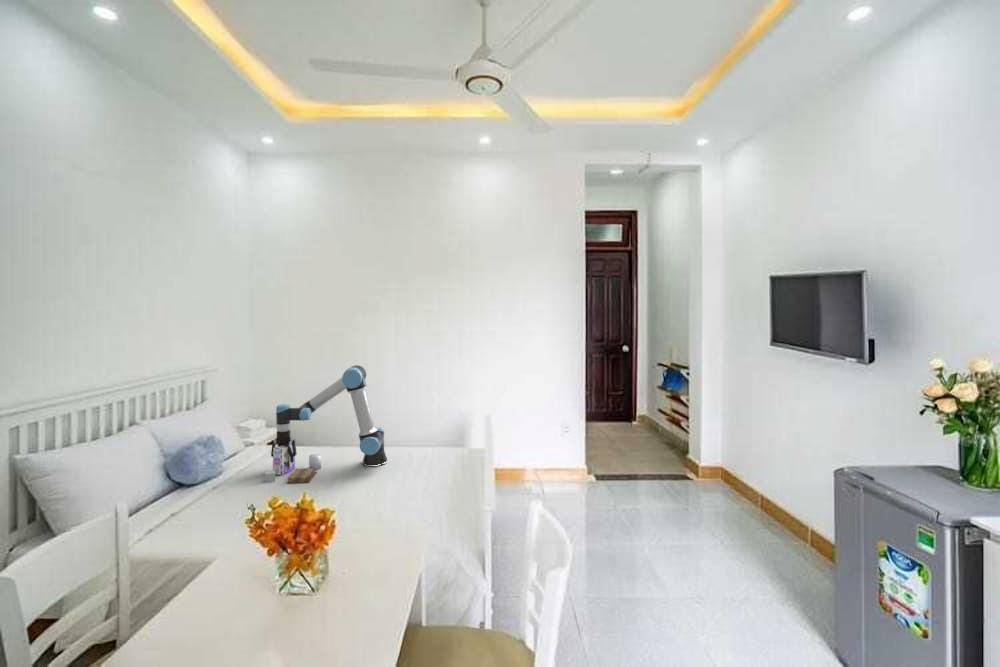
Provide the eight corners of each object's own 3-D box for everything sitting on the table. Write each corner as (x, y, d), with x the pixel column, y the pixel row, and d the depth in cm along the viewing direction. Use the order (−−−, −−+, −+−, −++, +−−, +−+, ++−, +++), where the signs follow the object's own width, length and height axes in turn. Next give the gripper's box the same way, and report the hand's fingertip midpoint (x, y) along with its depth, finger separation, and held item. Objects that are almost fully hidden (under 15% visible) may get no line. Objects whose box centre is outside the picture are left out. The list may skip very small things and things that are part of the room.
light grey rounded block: (322, 466, 318) (322, 453, 318) (319, 470, 311) (319, 457, 311) (311, 466, 318) (310, 454, 317) (307, 470, 311) (307, 457, 310)
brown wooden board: (316, 472, 306) (316, 467, 306) (308, 482, 289) (308, 477, 289) (296, 473, 305) (296, 468, 305) (286, 483, 288) (286, 478, 288)
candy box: (281, 475, 301) (281, 448, 300) (272, 475, 302) (272, 447, 301) (295, 468, 314) (294, 442, 313) (286, 467, 315) (286, 441, 314)
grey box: (274, 478, 296) (274, 470, 296) (275, 481, 292) (274, 473, 291) (265, 480, 294) (265, 471, 294) (265, 482, 289) (265, 474, 289)
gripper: (302, 428, 311) (302, 465, 312) (268, 428, 309) (269, 465, 311) (298, 431, 303) (299, 469, 305) (264, 432, 302) (264, 470, 303)
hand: (284, 467), depth 308 cm, fingers closed on candy box, 7 cm apart
